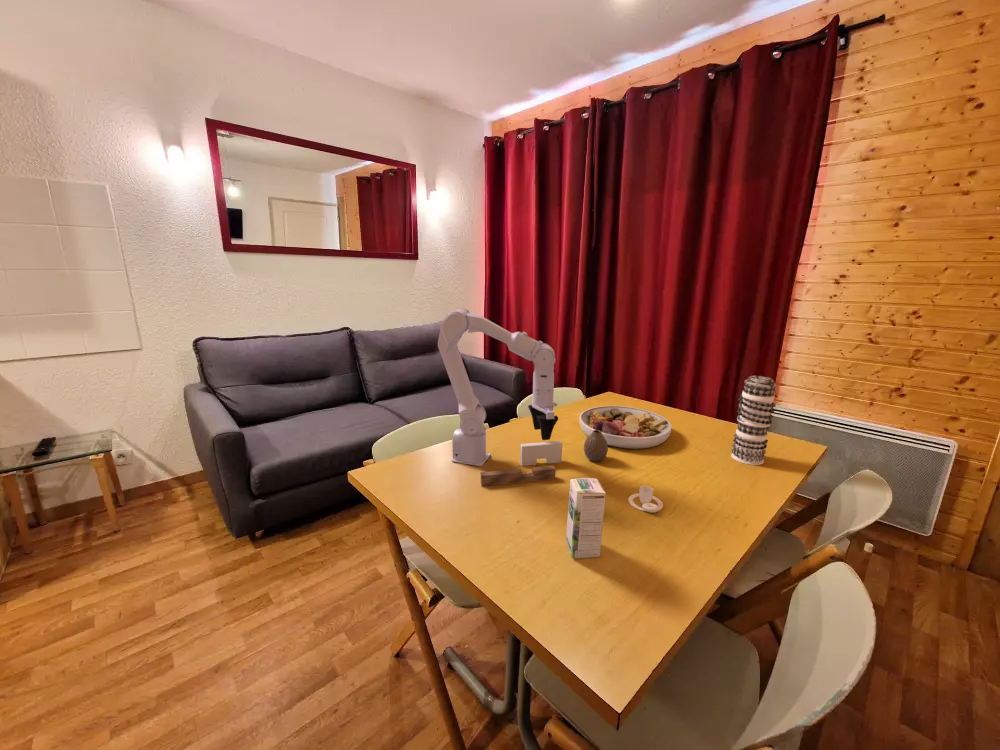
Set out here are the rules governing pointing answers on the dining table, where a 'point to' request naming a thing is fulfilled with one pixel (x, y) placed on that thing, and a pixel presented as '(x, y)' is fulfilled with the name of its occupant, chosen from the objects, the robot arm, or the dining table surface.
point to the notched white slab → (540, 452)
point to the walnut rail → (517, 476)
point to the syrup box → (585, 517)
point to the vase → (596, 446)
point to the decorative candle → (753, 420)
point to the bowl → (626, 426)
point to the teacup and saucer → (646, 500)
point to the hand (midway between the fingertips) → (541, 434)
